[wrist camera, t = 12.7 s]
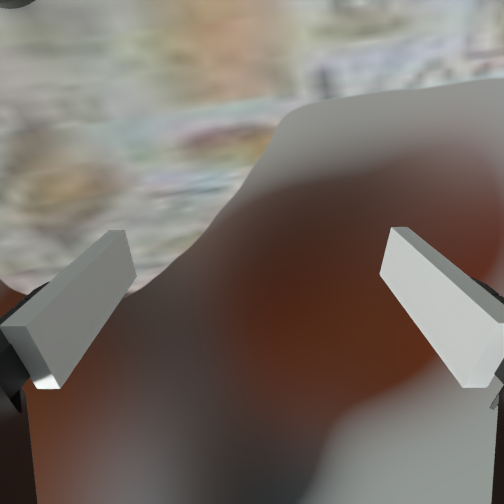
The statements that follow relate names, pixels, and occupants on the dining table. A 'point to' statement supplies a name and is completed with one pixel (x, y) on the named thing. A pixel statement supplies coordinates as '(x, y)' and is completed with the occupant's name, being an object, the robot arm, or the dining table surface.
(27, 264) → the dining table surface
